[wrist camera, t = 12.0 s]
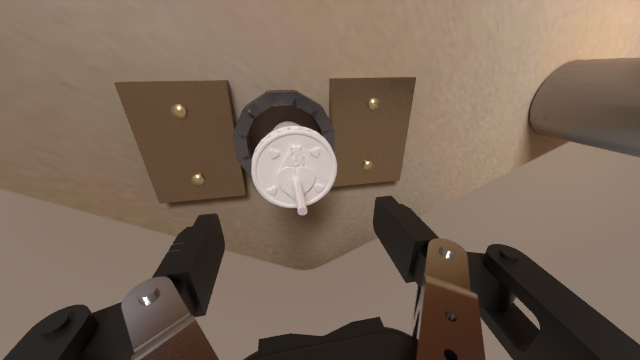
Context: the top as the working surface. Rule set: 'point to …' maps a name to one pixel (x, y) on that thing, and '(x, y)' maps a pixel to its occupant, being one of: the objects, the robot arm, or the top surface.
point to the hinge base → (233, 140)
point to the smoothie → (293, 166)
